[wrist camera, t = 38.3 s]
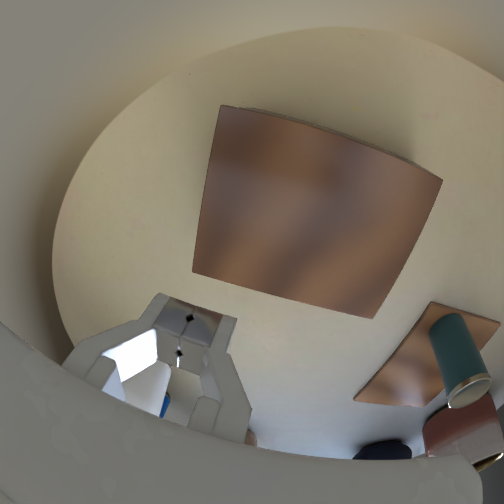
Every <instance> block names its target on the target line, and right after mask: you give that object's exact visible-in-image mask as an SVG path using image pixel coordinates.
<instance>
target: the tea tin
mask: <svg viewBox="0 0 504 504" xmlns="http://www.w3.org/2000/svg"><path fill="white" fill-rule="evenodd" d="M428 337H429V340H430V343H431V346H432V349H433V352H434V355H435V358H436V361H437V364H438V367H439V370H440V374H441V377H442V380H443V384H444V387H445V391H446V394H447V401H448V405H449V407H450V408H461V407H464V406H467V405H469V404H471V403H473V402H475V401H476V400H478V399H479V398H481V397H482V396H483V395H484V394H485V393H486V392H487V391H488V390H489V388H490V387H491V385H492V379H491V377H490V375H489V374H488V371H487V369H486V366H485V364H484V362H483V359H482V357H481V355H480V352H479V350H478V348H477V346H476V344H475V341H474V339H473V337H472V335H471V333H470V331H469V329H468V327H467V325H466V323H465V321H464V319H463V317H462V316H461V315H459V314H456V313H452V314H448V315H445V316H443V317H441V318H440V319H439V320H437V321H436V322H435V323H434V324H433V326H432V327H431V329H430V331H429V335H428Z"/></svg>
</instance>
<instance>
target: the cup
mask: <svg viewBox="0 0 504 504" xmlns="http://www.w3.org/2000/svg"><path fill="white" fill-rule="evenodd" d="M170 375H171V369H170V367H169V365H168V364H166V363H164V362H161V361H158V360H157V361H156V362H155V363H153V364H151V365H150V366H148V367H146V368H145V369H143V370H142V371H140V372H138V373H137V374H135V375H133V376H132V377H130V378H128V379H127V380H125V381H123V382H122V386H123V389H124V392H125V396H126V400H125V402H126V403H128V404H131V405H133V406H135V407H137V408H139V409H142V410H144V411H146V412H149V413H151V414H153V415H156V416H158V417H159V415H160V412H161V408H162V404H163V401H164V397H165V393H166V389H167V386H168V382H169V379H170Z"/></svg>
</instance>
